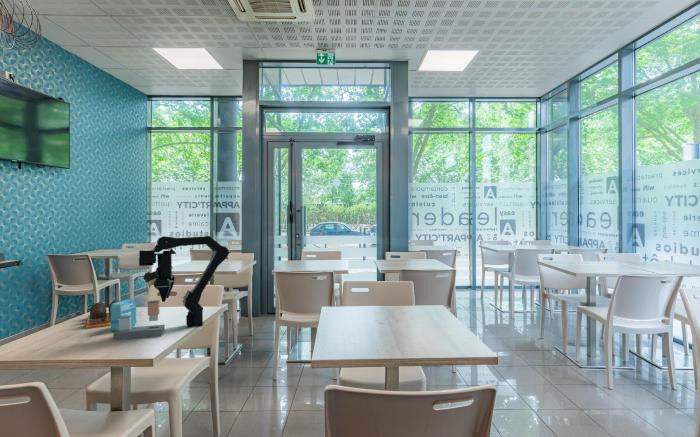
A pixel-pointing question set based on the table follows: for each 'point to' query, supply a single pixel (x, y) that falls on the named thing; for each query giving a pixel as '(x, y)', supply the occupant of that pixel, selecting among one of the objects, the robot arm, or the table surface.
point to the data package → (122, 312)
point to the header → (139, 332)
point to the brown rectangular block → (153, 310)
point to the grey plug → (124, 322)
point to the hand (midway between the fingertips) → (165, 299)
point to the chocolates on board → (99, 316)
